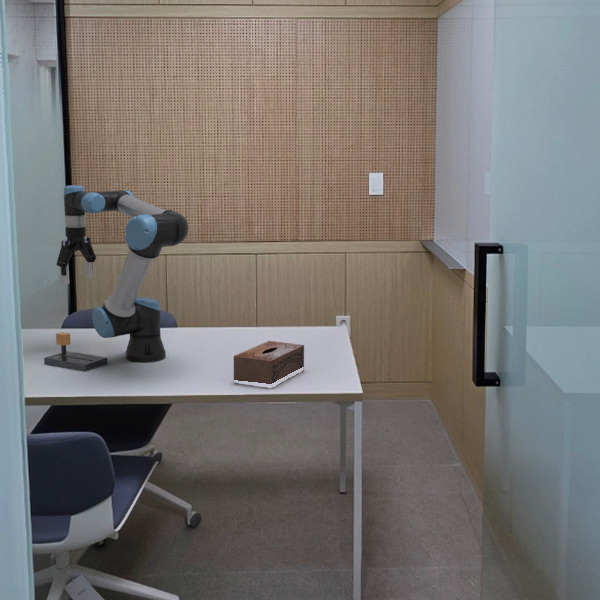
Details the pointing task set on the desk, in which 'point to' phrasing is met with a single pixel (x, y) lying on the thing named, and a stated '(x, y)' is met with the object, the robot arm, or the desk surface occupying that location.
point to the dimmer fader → (63, 341)
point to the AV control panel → (76, 361)
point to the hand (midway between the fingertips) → (77, 281)
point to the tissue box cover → (268, 362)
